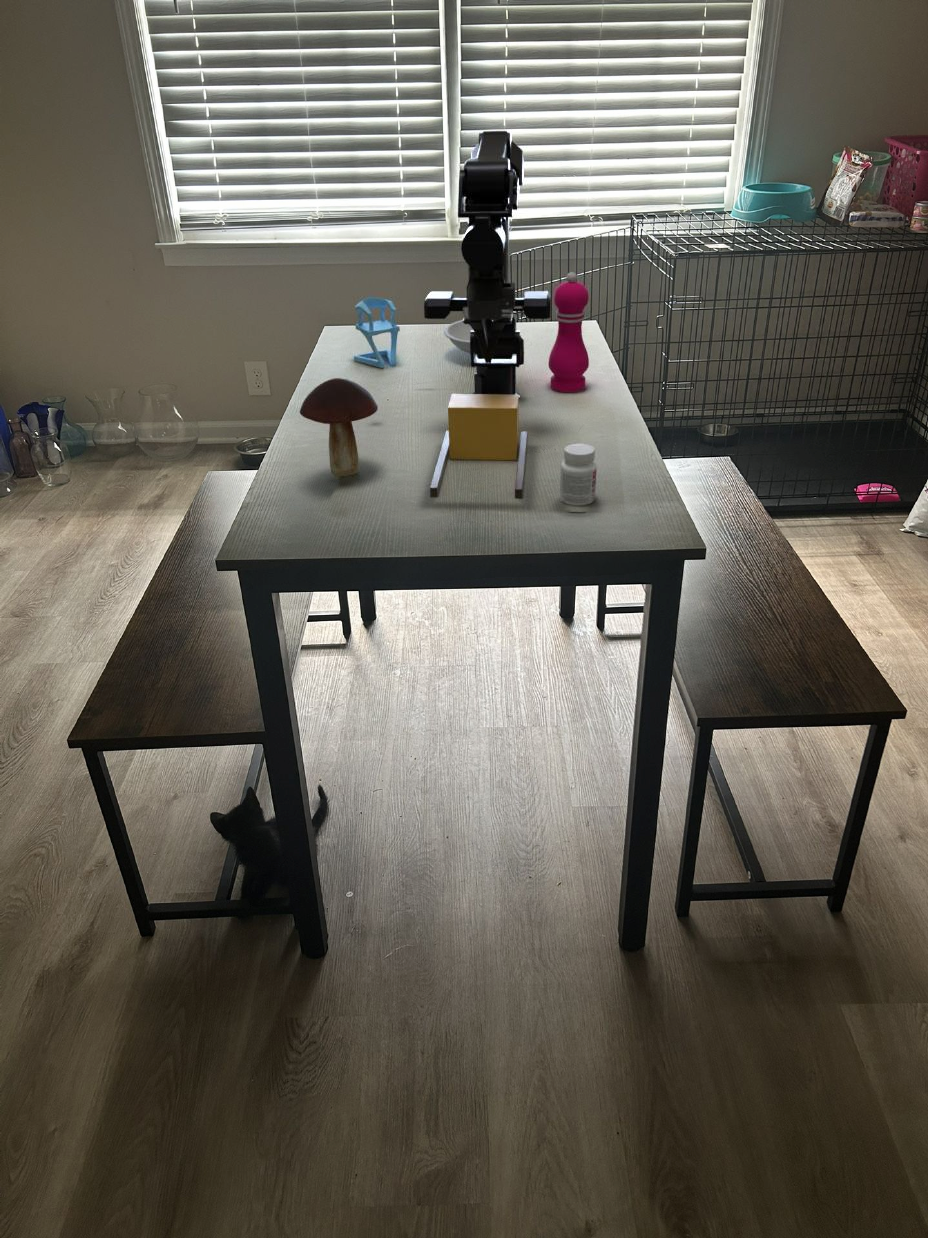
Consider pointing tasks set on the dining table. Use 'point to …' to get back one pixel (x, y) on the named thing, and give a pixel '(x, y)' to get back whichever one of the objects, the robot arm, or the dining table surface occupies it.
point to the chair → (377, 331)
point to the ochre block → (483, 426)
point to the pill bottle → (578, 475)
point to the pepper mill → (569, 337)
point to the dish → (459, 335)
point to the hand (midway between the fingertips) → (488, 361)
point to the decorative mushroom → (340, 419)
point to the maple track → (444, 457)
